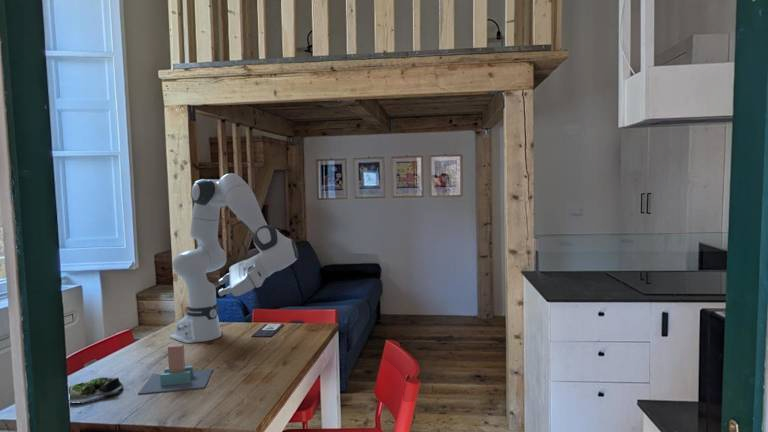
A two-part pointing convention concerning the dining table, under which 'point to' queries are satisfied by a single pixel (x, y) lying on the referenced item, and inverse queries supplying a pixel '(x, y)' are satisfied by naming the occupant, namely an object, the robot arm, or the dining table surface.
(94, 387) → the salad plate
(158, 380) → the mat
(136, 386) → the dining table surface
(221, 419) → the dining table surface
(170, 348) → the salmon orange block
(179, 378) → the slotted rack
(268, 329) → the chocolate bar
